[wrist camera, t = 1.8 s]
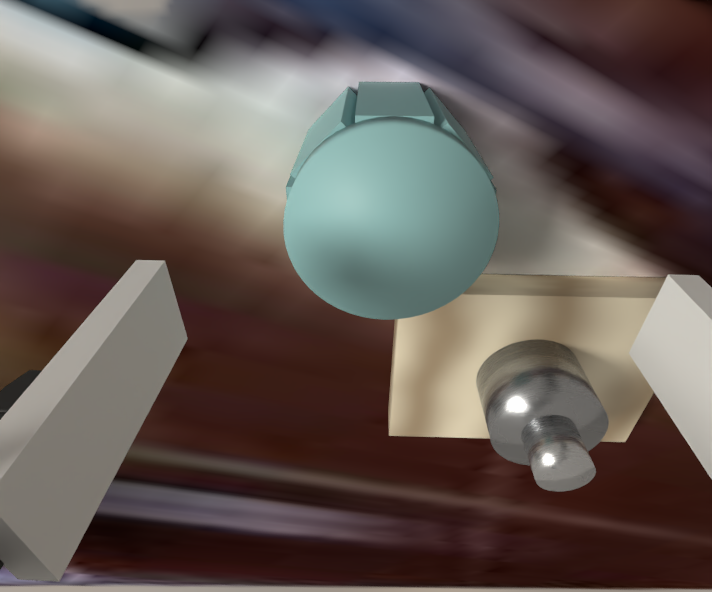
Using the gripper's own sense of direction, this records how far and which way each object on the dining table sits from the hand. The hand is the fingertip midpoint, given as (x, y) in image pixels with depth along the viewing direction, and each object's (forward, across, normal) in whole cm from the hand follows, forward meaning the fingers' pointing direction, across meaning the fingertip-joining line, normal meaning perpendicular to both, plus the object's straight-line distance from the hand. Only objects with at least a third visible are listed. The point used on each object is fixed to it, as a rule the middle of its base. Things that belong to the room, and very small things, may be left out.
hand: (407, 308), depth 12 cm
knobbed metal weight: (+9, +9, -12) cm, 18 cm away
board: (+11, +8, -12) cm, 19 cm away
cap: (+11, 0, 0) cm, 11 cm away
